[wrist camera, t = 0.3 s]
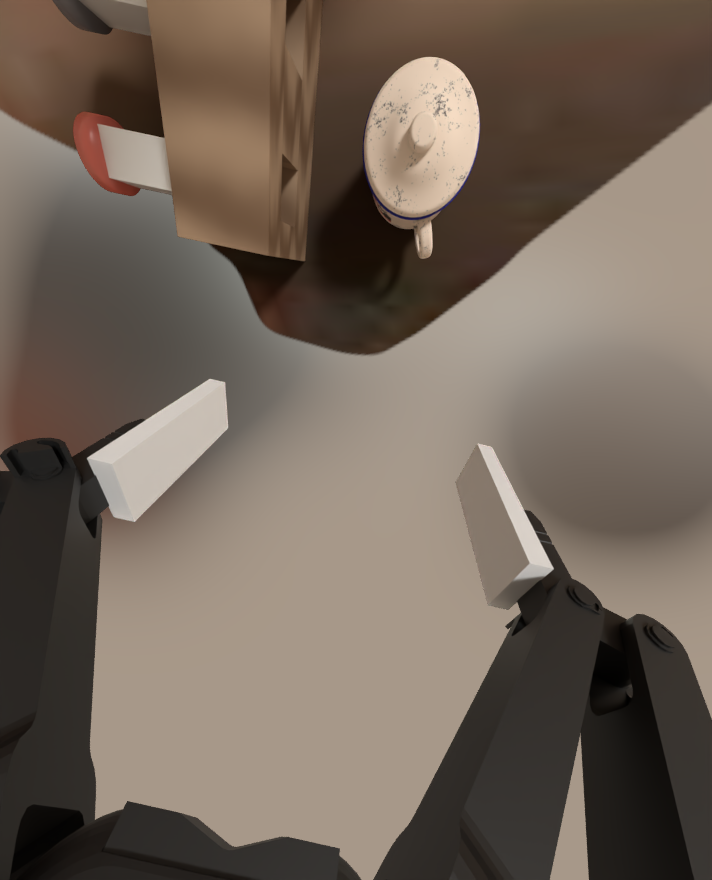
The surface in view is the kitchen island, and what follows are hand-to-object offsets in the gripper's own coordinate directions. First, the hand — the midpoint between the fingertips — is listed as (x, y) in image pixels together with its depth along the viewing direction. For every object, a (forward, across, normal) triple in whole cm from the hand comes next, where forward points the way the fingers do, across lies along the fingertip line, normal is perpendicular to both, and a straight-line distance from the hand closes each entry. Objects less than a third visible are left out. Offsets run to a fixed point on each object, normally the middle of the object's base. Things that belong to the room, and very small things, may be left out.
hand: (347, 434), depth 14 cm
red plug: (+23, -22, +10) cm, 34 cm away
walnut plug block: (+28, -15, +15) cm, 35 cm away
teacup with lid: (+28, +1, +14) cm, 31 cm away
